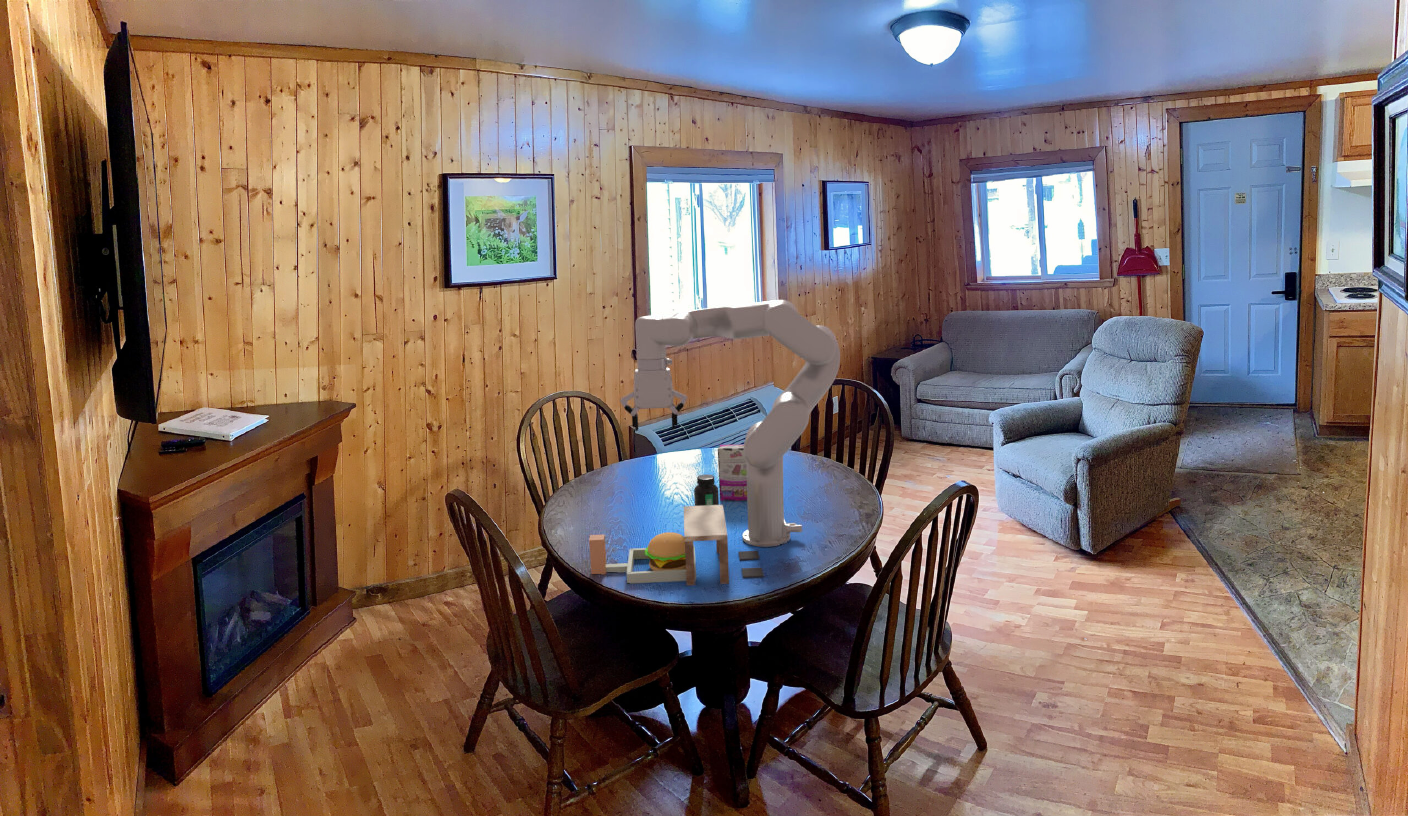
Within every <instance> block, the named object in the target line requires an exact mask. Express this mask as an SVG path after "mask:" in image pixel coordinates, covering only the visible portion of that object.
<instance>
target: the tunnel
mask: <svg viewBox="0 0 1408 816" xmlns="http://www.w3.org/2000/svg"><path fill="white" fill-rule="evenodd" d="M723 505H724V504H719V505H705V506H695V505H690V506H689V505H687V506H686V505H685V506H684V505H683V529H684V531H683V532H684V535H683V537H685V560H686V581H685V582H686V586H696V580H695V570H694V546H695V545H694V542H701V541H708V542H709V541H715V548H716V549H715V550H716V554H718V555H719V556H718V557H719V558H718V559H719V581H720V582H719V583H720V585H723V584H724V585H727V584H730V573H729V571H730V570H729V569H730V567H729V549H728V548H729V545H728V543H729V540H728V539H729V538H728V531H727V524H726V516H725V511H724V506H723Z"/></svg>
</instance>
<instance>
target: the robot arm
mask: <svg viewBox="0 0 1408 816" xmlns="http://www.w3.org/2000/svg"><path fill="white" fill-rule="evenodd" d="M634 324H635V325H634V327H635V328H634V329H635V343H636V347H635V348H636V363H637V365H636V366H637V368H636V369H635V370H634V376H633V391H632V392H630V393H628V394H626V395H624V396H623V397H621V398H620V403H621V405H622V407H623V409H624V410H625V411H626V412H627V413H628V414H629V415H630V416H631V422H632V428H634V432H638V431H639V415H638V412H639V410H641V409H642V410H643V409H644V410H645V409H646V410H647V409H649V410H650V409H665V408H666V409H667V408H668V409H669V410H670V411H671V429H672V430H676V426H678V425H679V424H678V413H679V412H680V411H681V410H682V409H683V408H684V407H685V404H686V402H687V399H688V396H687V395H686V394H684V393H681V392H679V391H677V390H675V389H674V387H673V385H674V384H673V379H672V372H671V369H670V368H669V367H668V366H670V365H673V359H672V358H671V359H670V358H668V357H667V346H671V347H682V346H685V345H687V344H689V343H690V342H691V340H693V339H694V340H695V339H700V338H710V337H721V338H728V339H730V340H742V339H743V340H744V339H749V338H751V339H752V338H758V337H765V336H766V337H767V336H771V337H772V338H773V339H774V340H775V341H776V342H778V343H780V344H781V346H783V347H785V348H787V349H788V350H790V351H791V352H792V353H794V355H796V356H797V357H799V358H801V359H802V360H804V361H805V363H804V365H803V366H802V368H801V369H800V370H799V372H798V373H797V375H795V377H794V379H792V381H791V382H790V384H788V386H787V387H786V388H785V389H784V390H783V391H782V392H781V393H780V394H779V395H778V396H777V398H775V400H774V401H773V404H772V408H771V410H770V411H769V412H768V414H767V415H766V416H765V417H764V419H763V420H761V421H757V422H756V423H754V424H752V425H751V426H750V428H749V429H748V430H747V432H746V435H745V439H744V443H743V445H744V456H745V458H746V460H747V501H746V502H747V505H746V506H747V529H746V530H745V531H744V532H743V533H742V536H741V537H742V541H744V542H745V544H748V545H750V546H754V547H760V548H761V547H763V548H766V547H768V548H771V547H777V546H780V544H782V545H784V544H786V543H788V542H790V539H791V533H802V532H803V525H802V524H797V523H796V522H791V523H789V522H786V520H785V508H784V505H785V504H784V456H785V454H786V453H787V452H788V451H789V449H790V448H791V447H792V446H793V445H794V444H795V443H796V441H797V440H798V439H799V438H800V436H801V435H802V434H803V433H804V431H805V430H806V429H807V427H808V425H809V421H810V414H811V412H812V411H813V409H814V408H815V406H817V404H818V403H819V402H820V401H821V399H822V398H823V397H824V396H825V394H826V393H827V391H829V390H830V388H831V386H832V385H833V383H834V381H835V380H836V378H837V375H838V372H839V369H840V364H841V363H840V362H841V351H840V347H839V343H838V341H837V337H836V335H835V333H834V332H833V330H831V329H830V328H829V327H827V326H825V325H821V324H820V325H819V324H817V325H815V324H814V323H812V321H810V320H808V319H807V318H806V317H804V316H803V315H801V314H800V313H799V312H798V310H797V308H796V306H795V305H794V304H793V302H790V301H789V300H785V299H777V300H776V299H775V300H769V301H768V300H767V301H761V302H753V303H745V304H739V305H738V304H736V305H728V306H723V307H722V306H721V307H720V306H719V307H710V308H701V309H693V310H685V311H680V312H678V313H675V314H674V315H673V316H671V317H668V318H664V317H661V316H660V315H645V316H640V317H638V318H636V320H635V323H634ZM674 397H675V398H676V399H677V398H678V399H680V401H679V403H678V404H677V405H675V404H674ZM632 399H633V403H634V406H633V407H632V406H631V405H629V403H628V401H630V400H632ZM787 541H788V542H787ZM783 543H784V544H783Z"/></svg>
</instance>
